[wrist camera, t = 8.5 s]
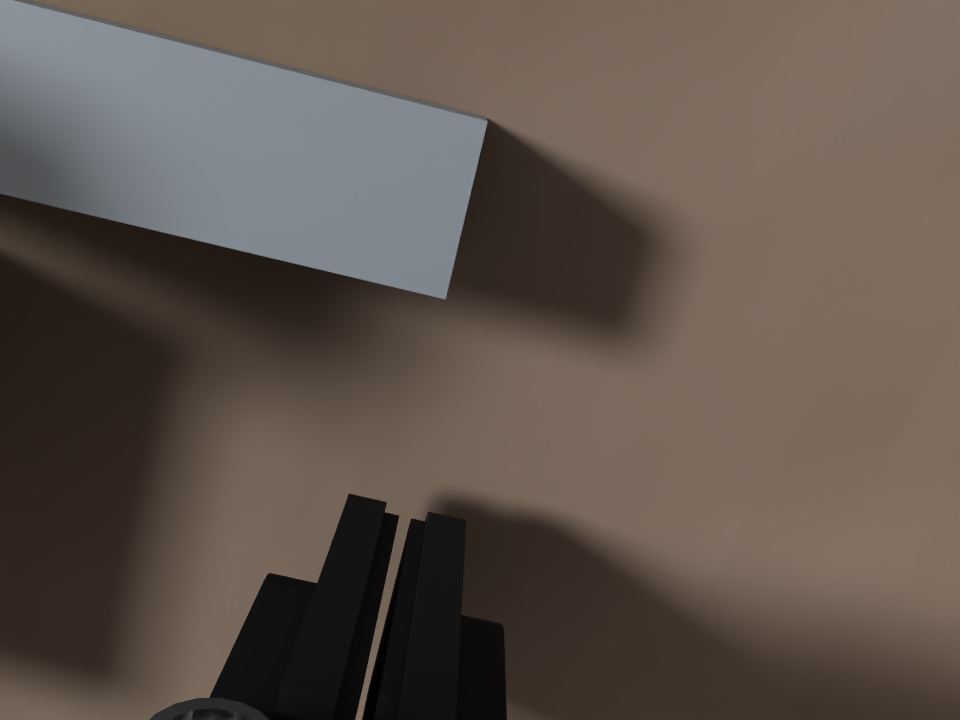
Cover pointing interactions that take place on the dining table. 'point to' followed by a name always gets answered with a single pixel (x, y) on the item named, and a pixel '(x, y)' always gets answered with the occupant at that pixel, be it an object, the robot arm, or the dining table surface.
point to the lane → (232, 149)
